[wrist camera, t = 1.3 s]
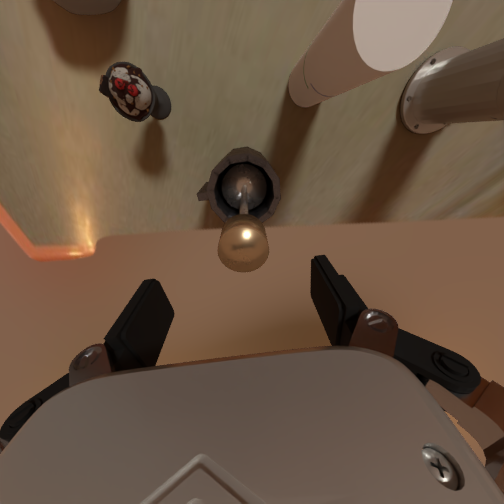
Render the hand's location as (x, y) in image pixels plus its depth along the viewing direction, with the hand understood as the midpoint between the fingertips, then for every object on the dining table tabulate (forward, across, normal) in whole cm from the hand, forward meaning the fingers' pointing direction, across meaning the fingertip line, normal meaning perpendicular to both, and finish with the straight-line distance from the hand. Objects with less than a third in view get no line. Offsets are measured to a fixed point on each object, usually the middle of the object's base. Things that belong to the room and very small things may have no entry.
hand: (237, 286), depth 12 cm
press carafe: (+37, 0, 0) cm, 37 cm away
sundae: (+37, +13, -15) cm, 42 cm away
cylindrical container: (+37, -15, -14) cm, 42 cm away
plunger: (+25, -1, 0) cm, 25 cm away
